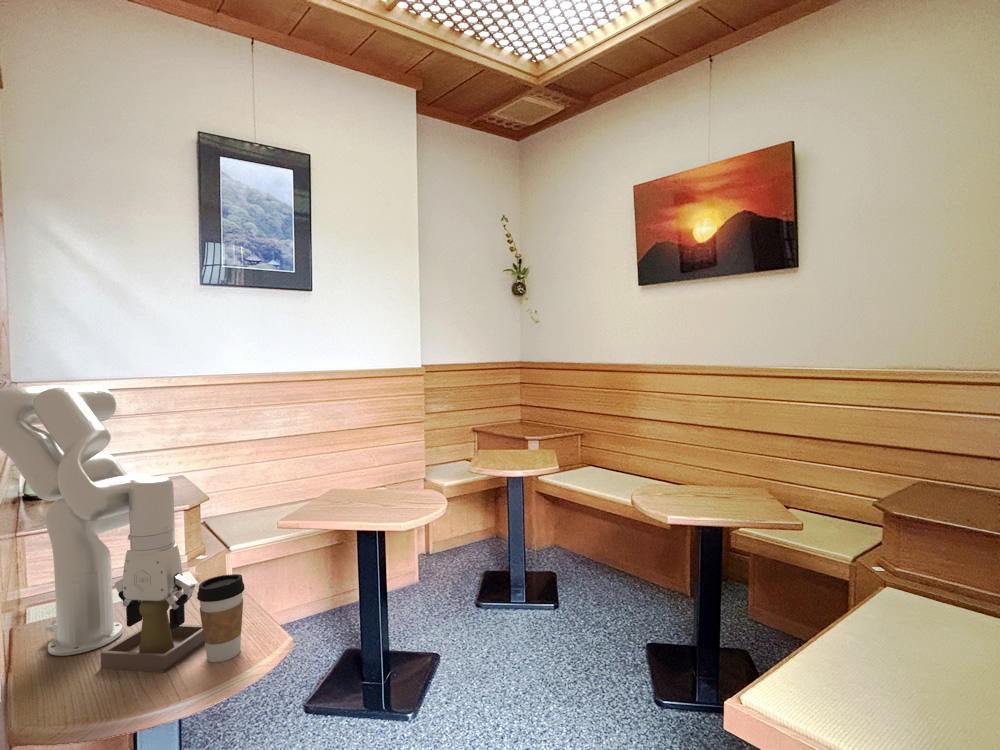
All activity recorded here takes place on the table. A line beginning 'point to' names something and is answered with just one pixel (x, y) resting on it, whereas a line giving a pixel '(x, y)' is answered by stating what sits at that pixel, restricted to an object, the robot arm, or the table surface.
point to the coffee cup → (221, 615)
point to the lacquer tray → (130, 658)
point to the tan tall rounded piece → (155, 627)
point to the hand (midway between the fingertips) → (156, 624)
